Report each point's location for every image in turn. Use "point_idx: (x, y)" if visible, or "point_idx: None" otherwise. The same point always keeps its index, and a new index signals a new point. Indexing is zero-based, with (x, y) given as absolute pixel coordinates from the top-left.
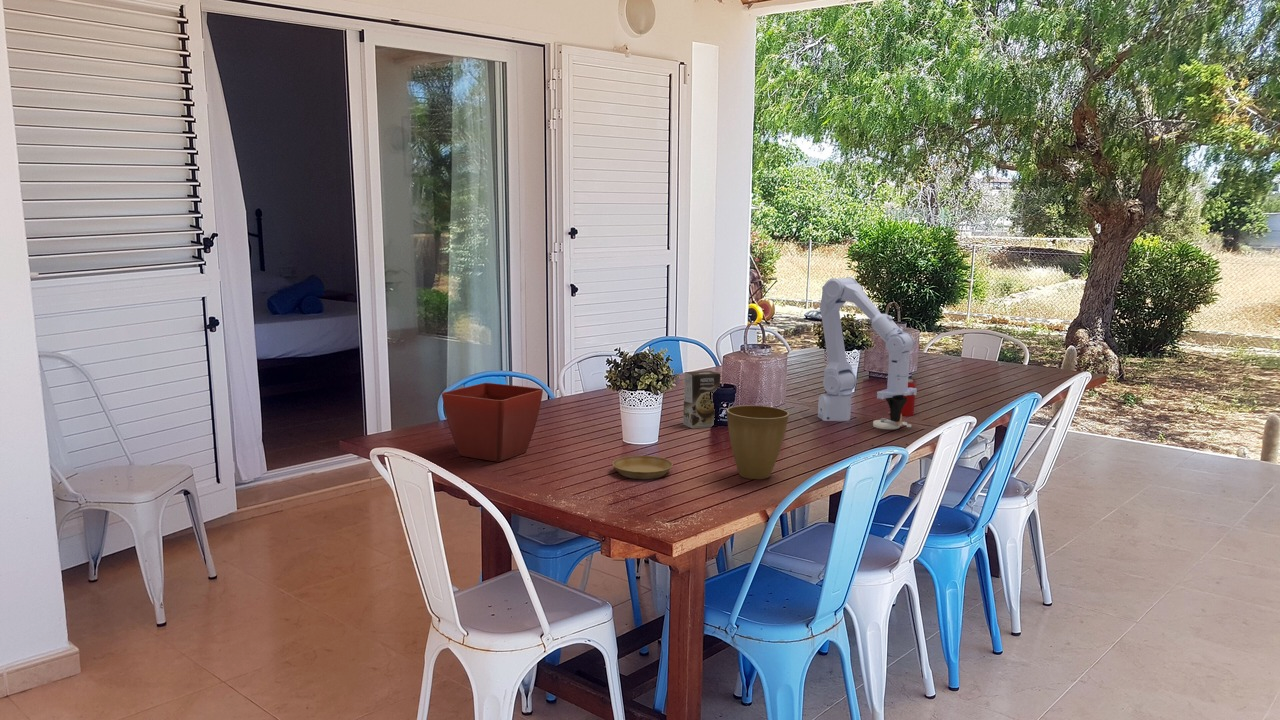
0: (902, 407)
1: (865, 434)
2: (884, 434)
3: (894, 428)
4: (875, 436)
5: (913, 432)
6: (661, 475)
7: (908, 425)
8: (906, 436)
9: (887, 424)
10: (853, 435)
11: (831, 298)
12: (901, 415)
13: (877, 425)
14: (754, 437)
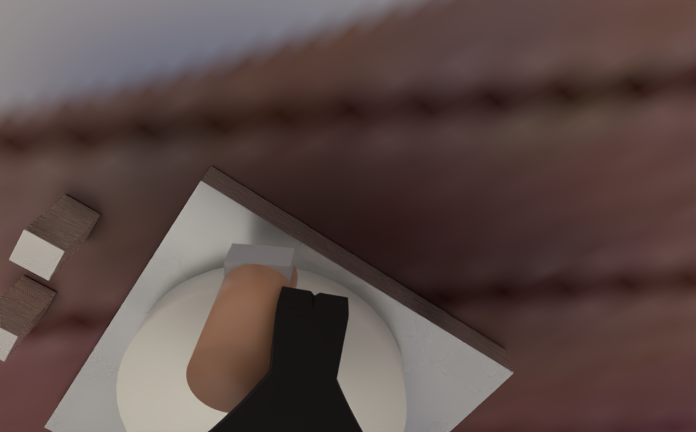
0: (242, 415)
1: (567, 386)
2: (435, 285)
3: (310, 278)
4: (583, 297)
5: (93, 141)
6: None
7: (65, 242)
8: (335, 89)
9: (340, 364)
10: (678, 425)
11: None
12: (233, 328)
13: (401, 420)
14: None
